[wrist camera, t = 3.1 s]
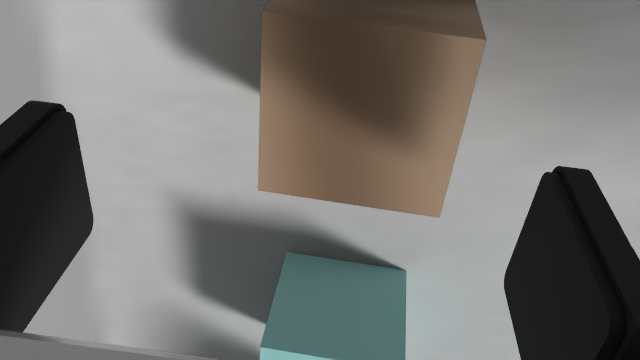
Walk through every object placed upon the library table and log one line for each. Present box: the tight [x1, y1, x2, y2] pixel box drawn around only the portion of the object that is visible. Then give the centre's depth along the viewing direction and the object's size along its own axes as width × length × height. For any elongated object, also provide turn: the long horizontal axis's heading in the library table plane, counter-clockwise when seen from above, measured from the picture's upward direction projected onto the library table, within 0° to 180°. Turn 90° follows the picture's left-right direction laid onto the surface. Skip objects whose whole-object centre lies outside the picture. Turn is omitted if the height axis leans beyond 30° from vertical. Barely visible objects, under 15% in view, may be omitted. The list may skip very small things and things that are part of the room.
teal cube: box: [260, 252, 406, 360], centre depth 22 cm, size 5×5×5 cm
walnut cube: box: [258, 0, 486, 218], centre depth 16 cm, size 5×5×5 cm
